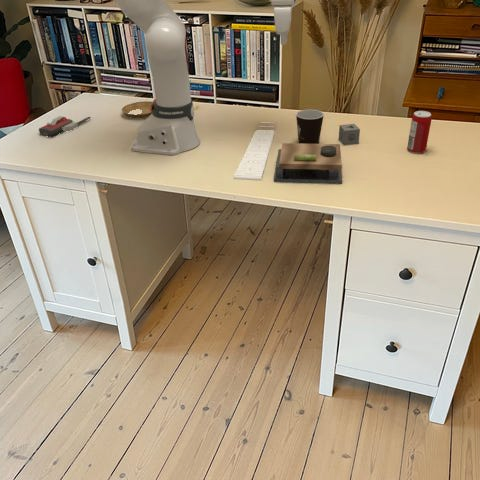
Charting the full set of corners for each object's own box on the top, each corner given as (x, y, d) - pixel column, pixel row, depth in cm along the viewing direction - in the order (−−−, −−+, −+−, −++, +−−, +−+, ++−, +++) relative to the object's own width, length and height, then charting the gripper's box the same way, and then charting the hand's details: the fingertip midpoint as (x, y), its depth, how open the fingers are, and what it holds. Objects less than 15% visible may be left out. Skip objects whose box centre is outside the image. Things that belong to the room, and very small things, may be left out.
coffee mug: (321, 150, 156) (322, 119, 150) (293, 148, 157) (294, 118, 152) (323, 135, 165) (325, 106, 159) (297, 134, 167) (298, 105, 161)
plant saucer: (123, 123, 183) (122, 116, 181) (121, 110, 194) (120, 103, 193) (163, 118, 185) (162, 111, 184) (159, 105, 197) (158, 99, 196)
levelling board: (279, 168, 137) (279, 158, 135) (282, 147, 148) (282, 138, 147) (341, 169, 135) (342, 159, 133) (339, 148, 146) (340, 139, 145)
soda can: (429, 150, 152) (436, 113, 146) (418, 155, 150) (425, 117, 143) (414, 145, 156) (420, 108, 149) (403, 150, 153) (409, 112, 147)
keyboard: (257, 123, 178) (257, 119, 177) (279, 124, 177) (279, 120, 176) (233, 181, 142) (233, 176, 141) (261, 182, 140) (261, 177, 140)
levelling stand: (273, 182, 139) (273, 169, 137) (277, 159, 151) (277, 147, 149) (342, 183, 137) (343, 170, 134) (340, 160, 149) (341, 148, 147)
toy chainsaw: (55, 141, 171) (93, 121, 186) (51, 128, 169) (90, 109, 183) (36, 137, 175) (75, 118, 189) (33, 125, 172) (72, 107, 187)
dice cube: (358, 144, 159) (360, 129, 156) (343, 145, 158) (344, 130, 155) (352, 138, 163) (354, 123, 160) (338, 139, 162) (339, 125, 159)
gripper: (275, -11, 153) (275, 36, 160) (270, -1, 136) (271, 52, 144) (296, -12, 152) (295, 36, 160) (293, -1, 135) (292, 51, 143)
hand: (283, 43), depth 152 cm, fingers closed
